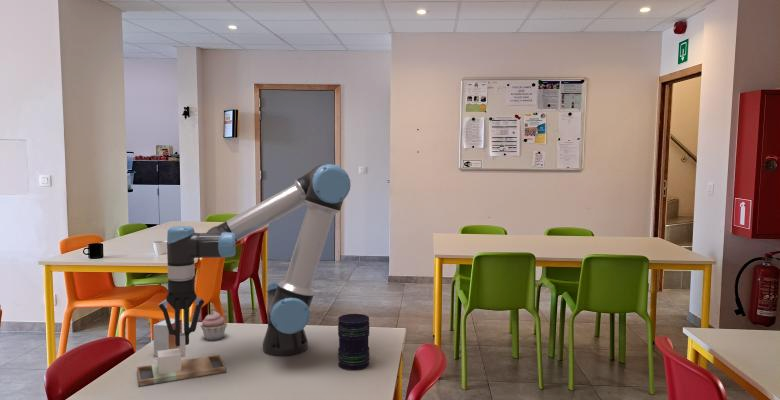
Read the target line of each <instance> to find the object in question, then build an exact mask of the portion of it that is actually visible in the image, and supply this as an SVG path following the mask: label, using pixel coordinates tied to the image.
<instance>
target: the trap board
mask: <svg viewBox="0 0 780 400" xmlns="http://www.w3.org/2000/svg"><path fill="white" fill-rule="evenodd" d="M225 373H226V374H227V365H226V364H225V363H224V361H223V359H222V357H221V355H220V354H217V355H216V354H213V355H207V356H203V357H201V356H200V357H195V358H188V359H181V371H177V372H171V373H165V374H159V370H158V363H155V364H149V365H143V366H136V374H137V381H138V388H140V387H147V386H154V385H160V384H165V383H170V382H177V381H178V382H179V381H182V380H189V379H195V378H202V377H209V376H213V375H214V376H215V375H219V374H220V375H221V374H225Z"/></svg>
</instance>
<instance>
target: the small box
mask: <svg viewBox="0 0 780 400" xmlns="http://www.w3.org/2000/svg"><path fill="white" fill-rule="evenodd" d="M169 318H170V322H171V325H172V328H173V329H174V330H175V318H172V317H169ZM152 330H153V356H154V357H158V354H157V351H162V350H169V349H176V348H179V346H176V344H175V335H170V334H169V331H168V327H167V324H166V321H165V319H164V320H160V321H159V322H157V323H154V324H153V329H152ZM180 333H183V321H182V318H180Z"/></svg>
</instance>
